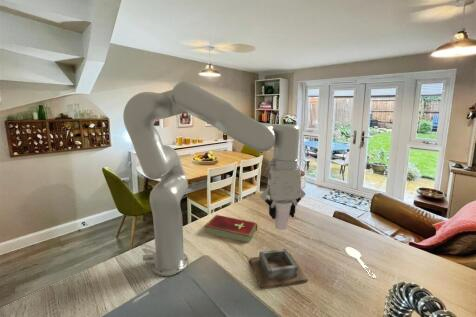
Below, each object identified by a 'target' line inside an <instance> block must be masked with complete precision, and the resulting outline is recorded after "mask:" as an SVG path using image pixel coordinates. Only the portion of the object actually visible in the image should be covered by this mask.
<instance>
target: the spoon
mask: <svg viewBox="0 0 476 317" xmlns="http://www.w3.org/2000/svg"><path fill="white" fill-rule="evenodd" d="M344 250H345V253H346V254H347V256H350V257H351V258H354V259H356V260H357V262H358V263H359V264H360V266H361V267H362V269H363V270H364V271H365V269H366V268H369V267H368V266H367V264H365V262H364V261H363V260H362V259H361V258H362V254H361V252H360V251H358V249H356V248H353V247H352V246H346V247H345V249H344ZM364 264H365V265H364ZM365 267H366V268H365ZM364 268H365V269H364ZM370 270H371V269H370ZM370 270H369V272H370ZM366 271H367V270H366ZM366 271H365V272H366ZM367 272H368V271H367ZM369 272H368V273H366V274H367V275H368V274H369ZM373 273H374V272H373ZM373 273H372V274H373ZM369 276H371V275H370V274H369V275H368V277H369ZM372 277H373V278H374V277H375V279H377V275H376V274H375V273H374V274H373V276H372ZM372 277H370V279H373V278H372Z"/></svg>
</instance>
